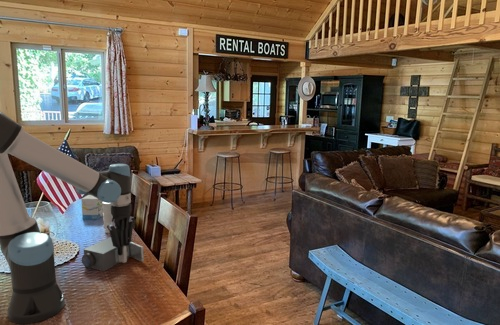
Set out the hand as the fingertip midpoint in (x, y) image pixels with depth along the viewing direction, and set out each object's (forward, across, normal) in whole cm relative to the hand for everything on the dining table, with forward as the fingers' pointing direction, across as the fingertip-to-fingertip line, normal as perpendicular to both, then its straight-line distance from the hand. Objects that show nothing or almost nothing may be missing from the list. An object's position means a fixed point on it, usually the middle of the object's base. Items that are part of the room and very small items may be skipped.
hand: (122, 261), depth 145 cm
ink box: (+2, +38, +56) cm, 68 cm away
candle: (+2, +26, +32) cm, 41 cm away
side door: (+1, +6, -2) cm, 6 cm away
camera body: (+2, 0, +8) cm, 8 cm away
